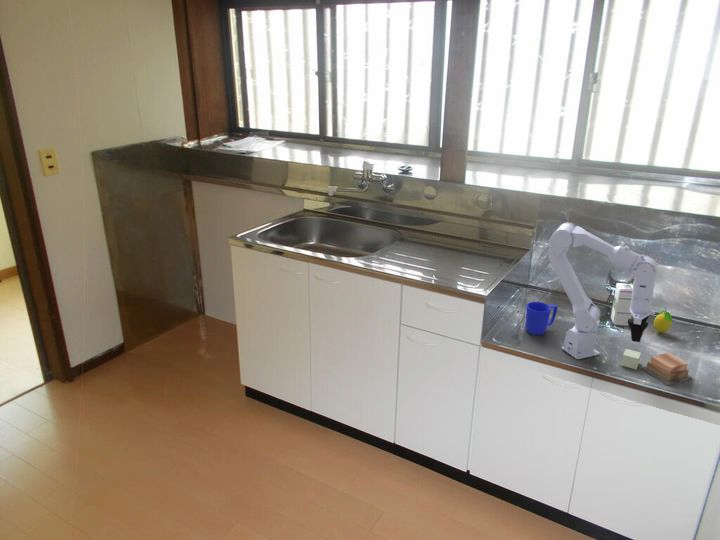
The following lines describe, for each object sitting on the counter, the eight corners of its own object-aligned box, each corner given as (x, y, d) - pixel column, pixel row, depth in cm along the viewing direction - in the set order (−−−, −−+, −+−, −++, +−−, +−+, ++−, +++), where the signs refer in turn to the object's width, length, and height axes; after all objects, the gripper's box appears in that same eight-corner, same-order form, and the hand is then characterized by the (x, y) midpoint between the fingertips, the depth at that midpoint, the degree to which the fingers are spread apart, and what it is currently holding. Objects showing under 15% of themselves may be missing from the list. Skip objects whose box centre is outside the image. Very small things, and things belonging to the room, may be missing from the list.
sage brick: (636, 369, 175) (638, 358, 173) (620, 365, 177) (623, 354, 176) (638, 363, 178) (640, 352, 177) (623, 359, 181) (625, 348, 179)
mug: (561, 333, 197) (565, 307, 193) (533, 339, 193) (536, 313, 189) (545, 323, 204) (549, 298, 200) (518, 328, 200) (521, 303, 196)
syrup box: (630, 326, 202) (637, 289, 196) (612, 324, 203) (619, 288, 197) (626, 319, 207) (633, 283, 202) (609, 317, 208) (616, 282, 203)
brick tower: (667, 385, 166) (671, 371, 164) (640, 369, 175) (644, 355, 173) (691, 379, 170) (695, 365, 168) (664, 363, 178) (667, 349, 176)
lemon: (668, 339, 193) (674, 313, 189) (649, 334, 196) (655, 309, 192) (671, 332, 198) (677, 306, 194) (653, 327, 201) (659, 302, 197)
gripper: (654, 307, 162) (649, 348, 166) (659, 289, 173) (653, 329, 178) (628, 303, 165) (623, 343, 170) (634, 286, 177) (629, 325, 181)
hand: (637, 336), depth 174 cm, fingers open, 7 cm apart
